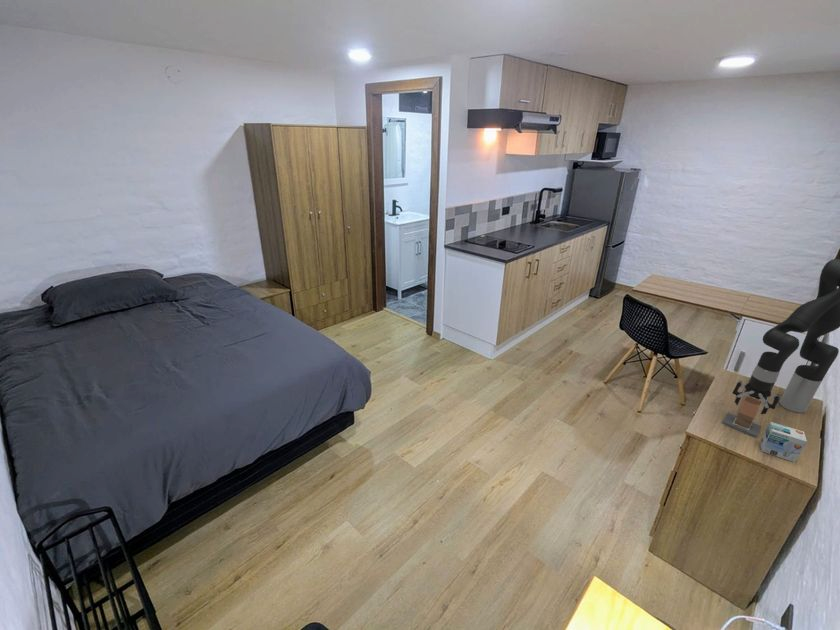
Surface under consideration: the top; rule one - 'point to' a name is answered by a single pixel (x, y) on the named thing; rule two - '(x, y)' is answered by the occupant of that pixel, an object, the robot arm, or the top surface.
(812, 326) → the robot arm
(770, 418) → the top surface
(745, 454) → the top surface
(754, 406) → the rust block
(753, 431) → the plate
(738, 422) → the walnut block
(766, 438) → the light bulb box
